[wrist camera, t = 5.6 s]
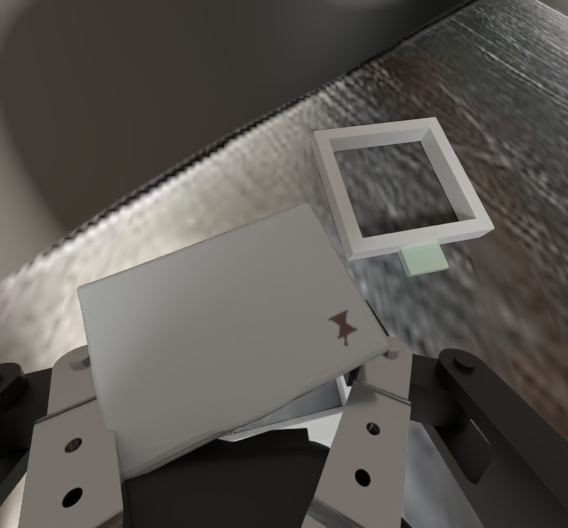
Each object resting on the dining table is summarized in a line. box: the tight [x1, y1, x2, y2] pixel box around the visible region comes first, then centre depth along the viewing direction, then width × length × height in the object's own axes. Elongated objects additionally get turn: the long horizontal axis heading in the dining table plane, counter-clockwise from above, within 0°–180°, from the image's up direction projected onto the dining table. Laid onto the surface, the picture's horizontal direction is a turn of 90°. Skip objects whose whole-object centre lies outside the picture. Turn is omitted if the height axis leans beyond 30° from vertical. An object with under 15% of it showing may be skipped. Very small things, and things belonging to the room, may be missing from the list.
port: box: [311, 117, 494, 277], centre depth 21 cm, size 11×13×2 cm
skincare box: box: [77, 203, 391, 480], centre depth 11 cm, size 6×4×12 cm
